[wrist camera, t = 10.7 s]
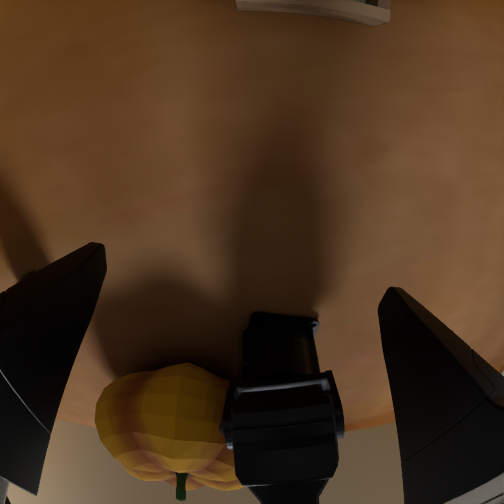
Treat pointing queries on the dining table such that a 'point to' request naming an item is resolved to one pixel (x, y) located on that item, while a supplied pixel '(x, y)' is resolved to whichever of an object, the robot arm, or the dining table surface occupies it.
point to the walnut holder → (326, 9)
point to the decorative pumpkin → (169, 427)
